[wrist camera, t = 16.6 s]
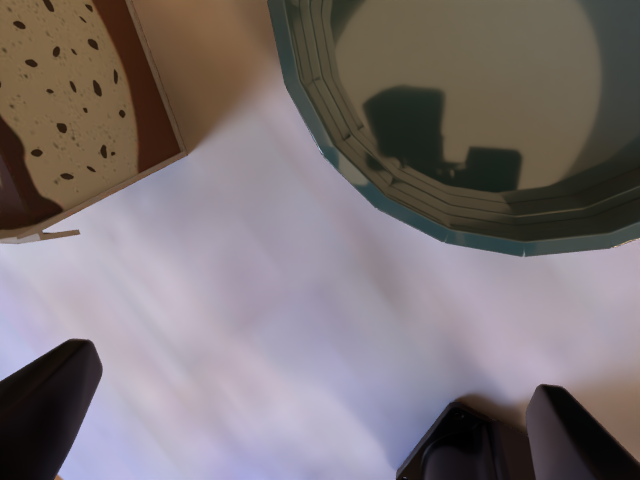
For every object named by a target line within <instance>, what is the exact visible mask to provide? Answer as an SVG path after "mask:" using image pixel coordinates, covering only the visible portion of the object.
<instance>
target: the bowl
mask: <svg viewBox="0 0 640 480" xmlns="http://www.w3.org/2000/svg"><path fill="white" fill-rule="evenodd" d="M267 3H268V7H269V12H270V17H271V22H272V26H273V31H274V36H275V41H276V45H277V50H278V55H279V60H280V64H281V69H282V74H283V79H284V83H285V86H286V89H287V91H288V93H289V94H290V96H291V98H292V100H293V102H294V104H295V106H296V107H297V109H298V111H299V113H300V115H301V117H302V119H303V120H304V122H305V124H306V126H307V128H308V130H309V132H310V133H311V135H312V137H313V139H314V141H315V143H316V145H317V146H318V148H319V150H320V152H321V154H322V155H324V156H323V157H324V158H325V159H326V160H327V161H328V162H329V163H330V164H331V165H332V166H333V167H334V168H335V169H336V170H337V171H338V172H339V173H340V174H341V175H342V176H343V177H344V178H345V179H346V180H347V181H348V182H349V183H350V184H351V185H352V186H353V187H354V188H355V189H356V190H358V191H359V192H360V193H361V194H362V195H363V196H364V197H365V198H366V199H367V200H368V201H369V202H370V203H371V204H372V205H373V206H374V207H375V208H377V209H378V210H380V211H382V212H384V213H386V214H388V215H390V216H392V217H394V218H396V219H398V220H399V221H401V222H403V223H405V224H407V225H409V226H411V227H413V228H415V229H417V230H419V231H421V232H423V233H425V234H427V235H429V236H431V237H433V238H435V239H437V240H439V241H441V242H445V243H447V244H453V245H458V246H464V247H469V248H475V249H481V250H486V251H492V252H498V253H503V254H509V255H515V256H520V257H522V256H524V257H528V256H538V255H548V254H559V253H569V252H579V251H589V250H600V249H610V248H611V247H612V248H614V247H617V246H620V245H623V244H625V243H628V242H631V241H634V240H636V239H639V238H640V0H268V2H267Z"/></svg>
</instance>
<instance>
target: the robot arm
mask: <svg viewBox="0 0 640 480" xmlns="http://www.w3.org/2000/svg"><path fill="white" fill-rule="evenodd" d="M102 371H103V368H102V363H101V361H100V358H99V356H98V353H97V351H96V348H95V346H94V344H93V342H92V341H90V340H85V339H69V340H67V341H65V342H64V343H62V344H60V345H59V346H57V347H56V348H54V349H52V350H51V351H49V352H47V353H46V354H44V355H43V356H41V357H39V358H38V359H36V360H34V361H33V362H31V363H30V364H28V365H26V366H25V367H23V368H21V369H20V370H18V371H17V372H15V373H13V374H12V375H10V376H8V377H7V378H5V379H4V380H2V381H0V480H54V479H55V477H56V475H57V473H58V472H59V470H60V468H61V466H62V464H63V462H64V461H65V459H66V457H67V455H68V453H69V451H70V449H71V447H72V445H73V443H74V440H75V438H76V436H77V434H78V431H79V429H80V427H81V424H82V422H83V419H84V417H85V415H86V412H87V410H88V408H89V405H90V403H91V400H92V398H93V396H94V393H95V391H96V389H97V386H98V384H99V382H100V379H101V376H102ZM454 411H459V412H461V413H459V414H456V413H453V412H454ZM526 425H527V431H528V436H526V435H524V434H522V433H520V432H519V431H517V430H515V429H513V428H511V427H509V426H507V425H505V424H503V423H501V422H500V421H497V420H493V419H491V418H489V417H487V416H485V415H483V414H482V413H480V412H478V411H476V410H474V409H472V408H470V407H468V406H466V405H465V404H463V403H460V402H452V403H450V404H449V405H448V406H447V407H446V408H445V410H444V411H443V412H442V413H441V415H440V416H439V417H438V419H437V420H436V421H435V422H434V424H433V425H432V426H431V428H430V429H429V430H428V432H427V433H426V434H425V435H424V437H423V438H422V439H421V441H420V442H419V443H418V444H417V446H416V447H415V448H414V450H413V451H412V452H411V454H410V455H409V456H408V457H407V459H406V460H405V461H404V463H403V464H402V465H401V467H400V468H399V469H398V470H397V473H396V480H640V463H639V462H638V461H637V460H636V459H635V458H634V457H633V456H632V455H631V454H630V453H629V452H628V451H627V450H626V449H625V448H624V447H623V446H622V445H621V444H620V443H619V442H618V441H617V440H616V439H615V438H614V437H613V436H612V435H611V434H610V433H609V432H608V431H607V430H606V429H605V428H604V427H603V426H602V425H601V424H600V423H599V422H598V421H597V420H596V419H595V418H594V417H593V416H592V415H591V414H590V413H589V412H588V411H587V410H586V409H585V408H584V407H583V406H582V405H581V404H580V403H579V402H578V401H577V400H576V399H575V398H574V397H573V396H572V395H571V394H570V393H569V392H568V391H567V390H566V389H565V388H563V387H561V386H558V385H547V384H540V385H539V386H537V388H536V390H535V392H534V394H533V396H532V399H531V401H530V403H529V405H528V407H527V410H526ZM403 477H406V478H403Z"/></svg>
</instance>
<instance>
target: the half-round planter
mask: <svg viewBox="0 0 640 480" xmlns="http://www.w3.org/2000/svg"><path fill="white" fill-rule="evenodd" d="M187 155H188V154H187V152H186V149H185V146H184V143H183V141H182V138H181V135H180V133H179V130H178V127H177V124H176V122H175V119H174V116H173V113H172V111H171V108H170V105H169V103H168V100H167V97H166V94H165V92H164V89H163V86H162V83H161V81H160V78H159V75H158V73H157V70H156V67H155V64H154V62H153V59H152V56H151V53H150V51H149V48H148V45H147V43H146V40H145V37H144V34H143V32H142V29H141V26H140V23H139V21H138V18H137V15H136V13H135V10H134V7H133V4H132V2H131V0H0V243H4V244H21V243H28V242H35V241H41V240H47V239H54V238H60V237H66V236H72V235H79V234H80V232H79V230H72V231H65V232H57V233H43V232H42V230H44V229H46V228H48V227H50V226H52V225H53V224H55V223H57V222H59V221H61V220H63V219H65V218H67V217H69V216H71V215H73V214H75V213H77V212H79V211H81V210H82V209H84V208H86V207H88V206H90V205H92V204H94V203H96V202H98V201H100V200H102V199H104V198H106V197H108V196H109V195H111V194H113V193H115V192H117V191H119V190H121V189H123V188H125V187H127V186H129V185H131V184H133V183H135V182H137V181H138V180H140V179H142V178H144V177H146V176H148V175H150V174H152V173H154V172H156V171H158V170H160V169H162V168H164V167H166V166H167V165H169V164H171V163H173V162H175V161H177V160H179V159H181V158H183V157H185V156H187Z"/></svg>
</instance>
